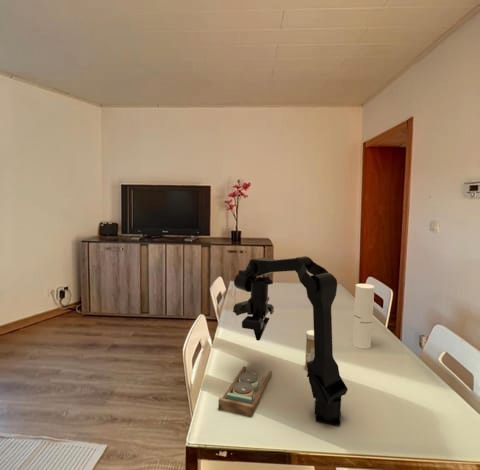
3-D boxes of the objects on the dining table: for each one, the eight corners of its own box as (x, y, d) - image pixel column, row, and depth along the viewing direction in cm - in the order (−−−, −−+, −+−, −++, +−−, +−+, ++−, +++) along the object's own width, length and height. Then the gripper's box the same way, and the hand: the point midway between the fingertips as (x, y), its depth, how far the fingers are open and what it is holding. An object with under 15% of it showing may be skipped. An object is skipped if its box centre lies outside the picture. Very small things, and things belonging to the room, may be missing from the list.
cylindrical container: (357, 340, 150) (360, 282, 147) (373, 345, 145) (377, 286, 142) (349, 344, 145) (352, 285, 142) (365, 350, 140) (369, 289, 137)
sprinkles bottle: (303, 365, 127) (304, 329, 125) (315, 365, 127) (317, 329, 126) (306, 372, 122) (308, 334, 121) (319, 371, 123) (321, 334, 121)
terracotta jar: (255, 395, 108) (255, 383, 107) (249, 406, 102) (250, 393, 102) (236, 392, 110) (236, 380, 109) (230, 403, 104) (230, 390, 103)
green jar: (259, 385, 114) (260, 373, 113) (255, 395, 108) (255, 383, 107) (242, 382, 115) (242, 370, 115) (236, 392, 110) (236, 380, 109)
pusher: (252, 406, 102) (252, 397, 102) (250, 408, 101) (250, 399, 100) (228, 401, 104) (228, 392, 104) (226, 403, 103) (226, 394, 103)
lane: (271, 376, 119) (271, 367, 119) (252, 417, 97) (252, 406, 97) (243, 371, 122) (243, 362, 122) (218, 409, 101) (218, 399, 100)
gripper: (244, 286, 129) (244, 327, 131) (226, 300, 111) (226, 347, 113) (274, 289, 125) (273, 331, 127) (260, 304, 108) (259, 353, 110)
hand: (258, 340), depth 119 cm, fingers closed
